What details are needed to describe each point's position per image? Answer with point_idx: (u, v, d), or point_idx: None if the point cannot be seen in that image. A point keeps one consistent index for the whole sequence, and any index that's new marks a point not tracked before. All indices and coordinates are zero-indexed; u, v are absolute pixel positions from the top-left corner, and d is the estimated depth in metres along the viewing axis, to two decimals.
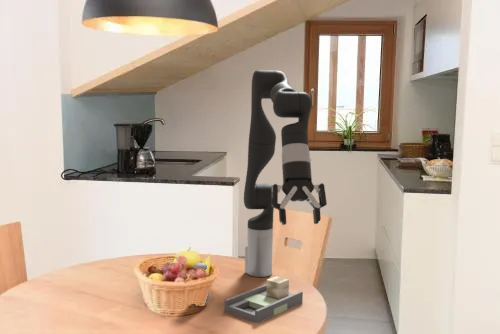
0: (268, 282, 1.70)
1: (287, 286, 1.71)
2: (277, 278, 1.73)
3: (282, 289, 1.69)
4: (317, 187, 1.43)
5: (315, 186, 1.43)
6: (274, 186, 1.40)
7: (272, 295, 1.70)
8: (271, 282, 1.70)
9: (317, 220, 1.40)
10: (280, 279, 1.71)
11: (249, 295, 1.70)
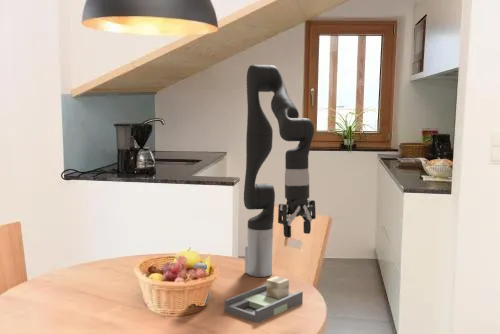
0: (268, 282, 1.70)
1: (287, 286, 1.71)
2: (277, 278, 1.73)
3: (282, 289, 1.69)
4: (309, 203, 1.70)
5: (308, 202, 1.70)
6: (285, 206, 1.62)
7: (272, 295, 1.70)
8: (271, 282, 1.70)
9: (309, 231, 1.70)
10: (280, 279, 1.71)
11: (249, 295, 1.70)
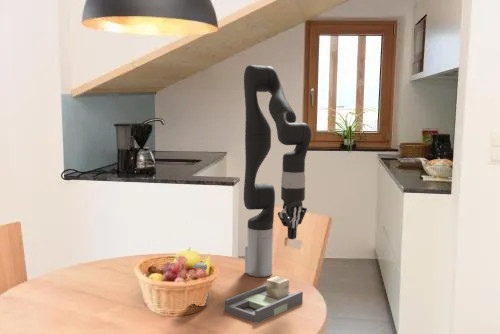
0: (268, 282, 1.70)
1: (287, 286, 1.71)
2: (277, 278, 1.73)
3: (282, 289, 1.69)
4: (302, 208, 1.77)
5: None
6: (284, 215, 1.69)
7: (272, 295, 1.70)
8: (271, 282, 1.70)
9: (295, 237, 1.75)
10: (280, 279, 1.71)
11: (249, 295, 1.70)
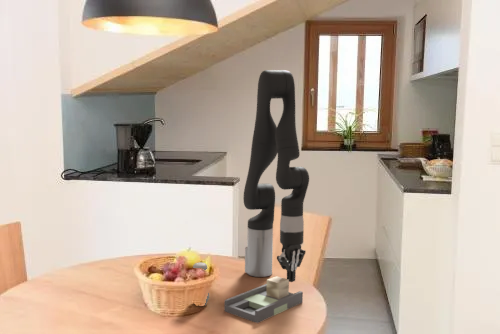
0: (268, 282, 1.70)
1: (287, 286, 1.71)
2: (277, 278, 1.73)
3: (282, 289, 1.69)
4: (300, 251, 1.78)
5: None
6: (283, 259, 1.70)
7: (272, 295, 1.70)
8: (271, 282, 1.70)
9: (294, 279, 1.76)
10: (280, 279, 1.71)
11: (249, 295, 1.70)
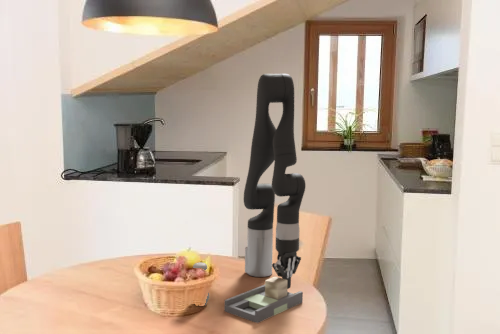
0: (267, 283, 1.70)
1: (286, 286, 1.71)
2: (275, 278, 1.72)
3: (281, 289, 1.69)
4: (296, 257, 1.77)
5: (296, 256, 1.77)
6: (279, 267, 1.69)
7: (271, 296, 1.69)
8: (270, 282, 1.69)
9: (289, 286, 1.75)
10: (279, 280, 1.71)
11: (249, 295, 1.70)
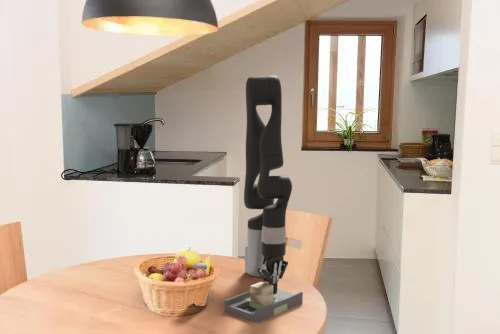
0: (252, 288, 1.65)
1: (272, 292, 1.65)
2: (261, 283, 1.67)
3: (266, 295, 1.64)
4: (283, 262, 1.72)
5: (282, 260, 1.72)
6: (264, 272, 1.64)
7: (256, 301, 1.64)
8: (255, 288, 1.64)
9: (276, 292, 1.69)
10: (265, 285, 1.66)
11: (249, 295, 1.70)
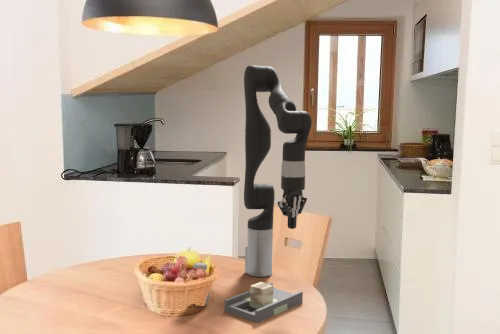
0: (252, 288, 1.65)
1: (271, 292, 1.65)
2: (261, 283, 1.67)
3: (266, 295, 1.64)
4: (302, 198, 1.75)
5: (301, 196, 1.75)
6: (284, 205, 1.67)
7: (256, 301, 1.64)
8: (255, 288, 1.64)
9: (295, 226, 1.73)
10: (265, 285, 1.66)
11: (249, 295, 1.70)
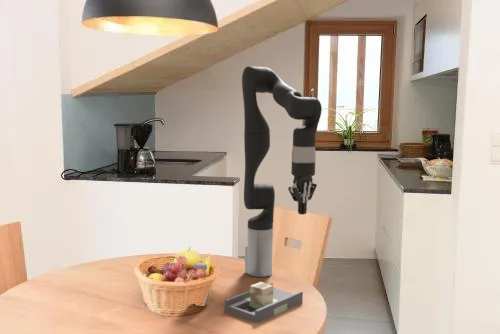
0: (252, 288, 1.65)
1: (271, 292, 1.65)
2: (261, 283, 1.67)
3: (266, 295, 1.64)
4: (312, 184, 1.77)
5: (311, 182, 1.76)
6: (295, 190, 1.68)
7: (256, 301, 1.64)
8: (255, 288, 1.64)
9: (305, 212, 1.74)
10: (265, 285, 1.66)
11: (249, 295, 1.70)
